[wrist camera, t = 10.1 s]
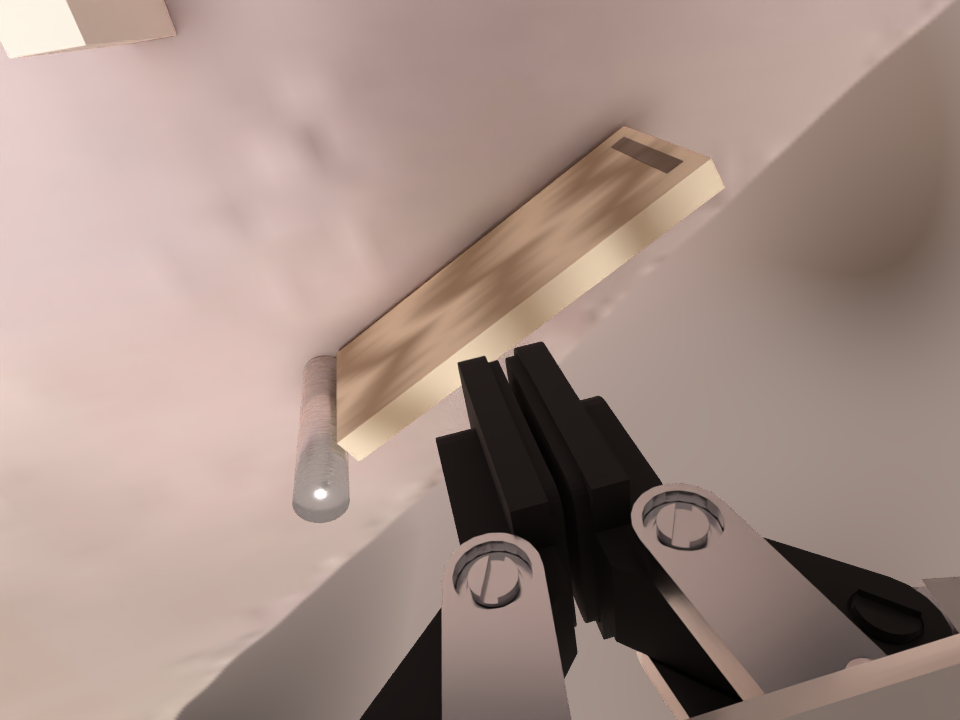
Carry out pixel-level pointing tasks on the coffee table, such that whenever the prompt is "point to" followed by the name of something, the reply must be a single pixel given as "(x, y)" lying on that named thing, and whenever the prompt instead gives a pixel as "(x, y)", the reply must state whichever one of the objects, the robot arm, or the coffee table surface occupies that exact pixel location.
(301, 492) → the hinge post
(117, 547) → the coffee table surface
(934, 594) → the robot arm
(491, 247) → the gate
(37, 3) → the post
